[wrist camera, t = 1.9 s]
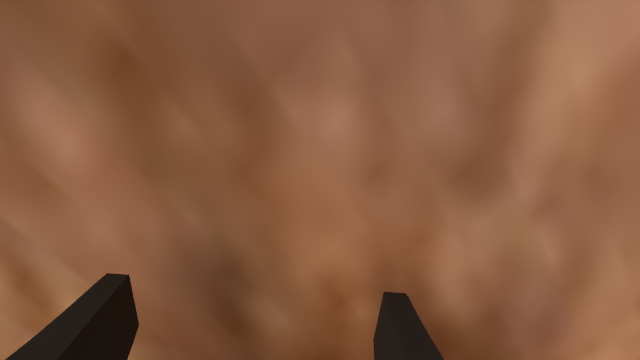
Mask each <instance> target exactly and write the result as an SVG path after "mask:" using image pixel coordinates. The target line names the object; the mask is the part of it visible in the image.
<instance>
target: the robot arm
mask: <svg viewBox="0 0 640 360" xmlns="http://www.w3.org/2000/svg"><path fill="white" fill-rule="evenodd" d="M138 326H139V323H138V318H137V313H136V308H135V303H134V298H133V293H132V287H131V282H130V277H129V275H123V274H109V273H107V274H106V275H105V276H103V277H102V278H101V279H100V280H99V281H98V282H96V283H95V284H94V285H93V286H92V287H91V288H90V289H89V290H87V291H86V292H85V293H84V294H83V295H82V296H81V297H80V298H78V299H77V300H76V301H75V302H74V303H73V304H72V305H71V306H69V307H68V308H67V309H66V310H65V311H64V312H63V313H61V314H60V315H59V316H58V317H57V318H56V319H54V320H53V321H52V322H51V323H50V324H49V325H47V326H46V327H45V328H44V329H43V330H42V331H40V332H39V333H38V334H37V335H36V336H34V337H33V338H32V339H31V340H29V341H28V342H27V343H26V344H24V345H23V346H22V347H21V348H19V349H18V350H17V351H16V352H14V353H13V354H12V355H10V356H9V357H8V358H7V359H5V360H127V359H128V356H129V353H130V350H131V347H132V345H133V342H134V338H135V335H136V332H137V329H138ZM374 359H375V360H444V359H443V357H442V355H441V354H440V352H439V351H438V349H437V348H436V346H435V344H434V343H433V341H432V339H431V338H430V336H429V334H428V333H427V331H426V329H425V327H424V326H423V324H422V322H421V320H420V318H419V317H418V315H417V313H416V311H415V309H414V307H413V305H412V303H411V301H410V299H409V297H408V296H407V295H406V294H405V293H392V292H384V294H383V299H382V303H381V308H380V313H379V317H378V322H377V326H376V331H375V335H374Z"/></svg>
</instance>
